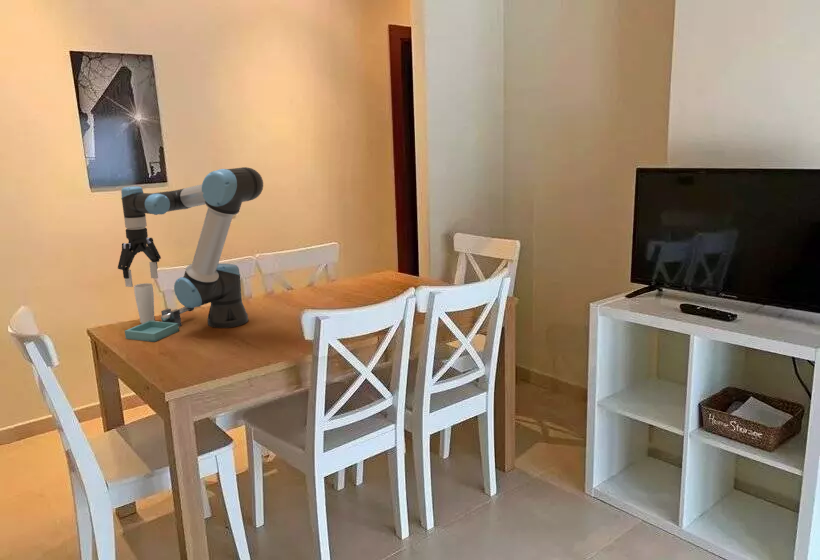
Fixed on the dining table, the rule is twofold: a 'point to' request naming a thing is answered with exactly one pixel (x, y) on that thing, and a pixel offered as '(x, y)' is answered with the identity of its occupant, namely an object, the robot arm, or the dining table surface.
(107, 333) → the dining table surface
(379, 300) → the dining table surface
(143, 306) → the drinking glass
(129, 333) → the teal square tray
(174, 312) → the pin mount
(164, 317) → the lock pin
